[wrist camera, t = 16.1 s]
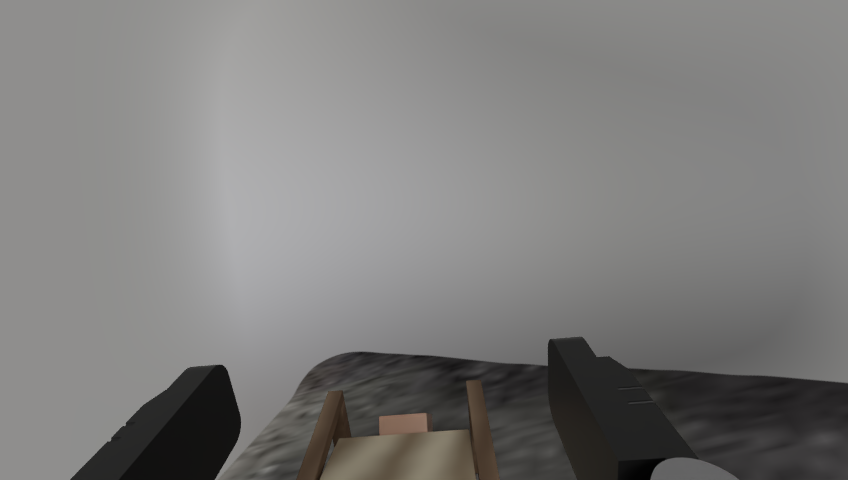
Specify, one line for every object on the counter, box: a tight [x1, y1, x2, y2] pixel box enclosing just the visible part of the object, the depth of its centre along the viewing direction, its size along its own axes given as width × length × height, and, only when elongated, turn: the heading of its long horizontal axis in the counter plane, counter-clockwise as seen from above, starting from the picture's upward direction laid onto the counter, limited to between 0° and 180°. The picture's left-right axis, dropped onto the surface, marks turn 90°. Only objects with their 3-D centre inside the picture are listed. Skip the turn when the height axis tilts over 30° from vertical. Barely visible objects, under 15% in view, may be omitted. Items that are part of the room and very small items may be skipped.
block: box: [379, 413, 433, 435], centre depth 46 cm, size 5×5×10 cm
